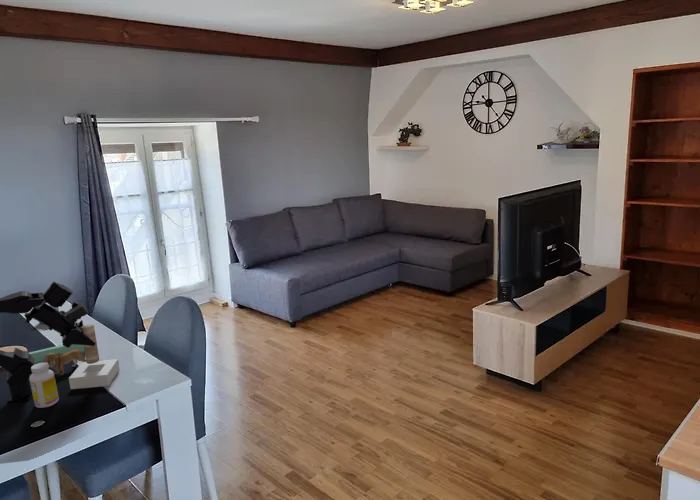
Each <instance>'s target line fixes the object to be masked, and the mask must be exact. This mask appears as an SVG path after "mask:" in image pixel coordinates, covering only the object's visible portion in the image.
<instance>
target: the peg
mask: <svg viewBox="0 0 700 500" xmlns="http://www.w3.org/2000/svg"><path fill="white" fill-rule="evenodd" d="M82 327H83V332H84V334H85V335H87V336H88V337H89V338H90V339H91V340H93V341H94V342H95V343H96V344H95V345H94V346H88V345H84V351H85V353H84V358H85V360H86V363H87V364H93V363H96V362H98V361H100V354H99V349H98V342H97V336H96V330H95V325H94V324H85V325H83V326H82ZM82 327H81V328H82Z"/></svg>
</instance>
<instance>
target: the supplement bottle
mask: <svg viewBox="0 0 700 500" xmlns="http://www.w3.org/2000/svg"><path fill="white" fill-rule="evenodd" d="M49 368H50V367H49V364H48V363H46V362H44V363H38V364H35V365H33V366H32V367H31V371H32V373H31V374H30V375H29V380H30V385H31V389H32V394H33V396H32V398H33V399H32V400H33V403H34V406H35V407H36V408H38V409H39V408H40V409H41V408H42V409H43V408H49V407H51V406H54V405H55V404H57V403H58V402H59V399H60V397H59V391H58V387H57V382H56V377H55V372H54V371H53V370H51V369H49Z"/></svg>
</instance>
